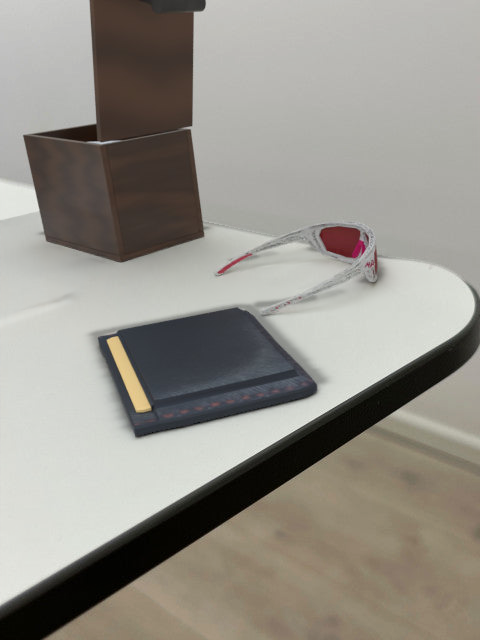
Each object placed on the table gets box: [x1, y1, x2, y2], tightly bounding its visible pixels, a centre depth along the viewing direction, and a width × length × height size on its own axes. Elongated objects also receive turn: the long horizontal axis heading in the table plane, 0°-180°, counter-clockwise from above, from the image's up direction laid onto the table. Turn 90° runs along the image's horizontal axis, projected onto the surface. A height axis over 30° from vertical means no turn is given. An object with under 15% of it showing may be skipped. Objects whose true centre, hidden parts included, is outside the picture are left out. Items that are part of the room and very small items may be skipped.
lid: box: [89, 0, 207, 143], centre depth 88 cm, size 18×14×7 cm
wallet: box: [97, 306, 318, 438], centre depth 67 cm, size 20×2×15 cm
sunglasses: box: [213, 220, 378, 316], centre depth 87 cm, size 17×17×5 cm
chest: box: [22, 122, 205, 263], centre depth 103 cm, size 18×14×14 cm
